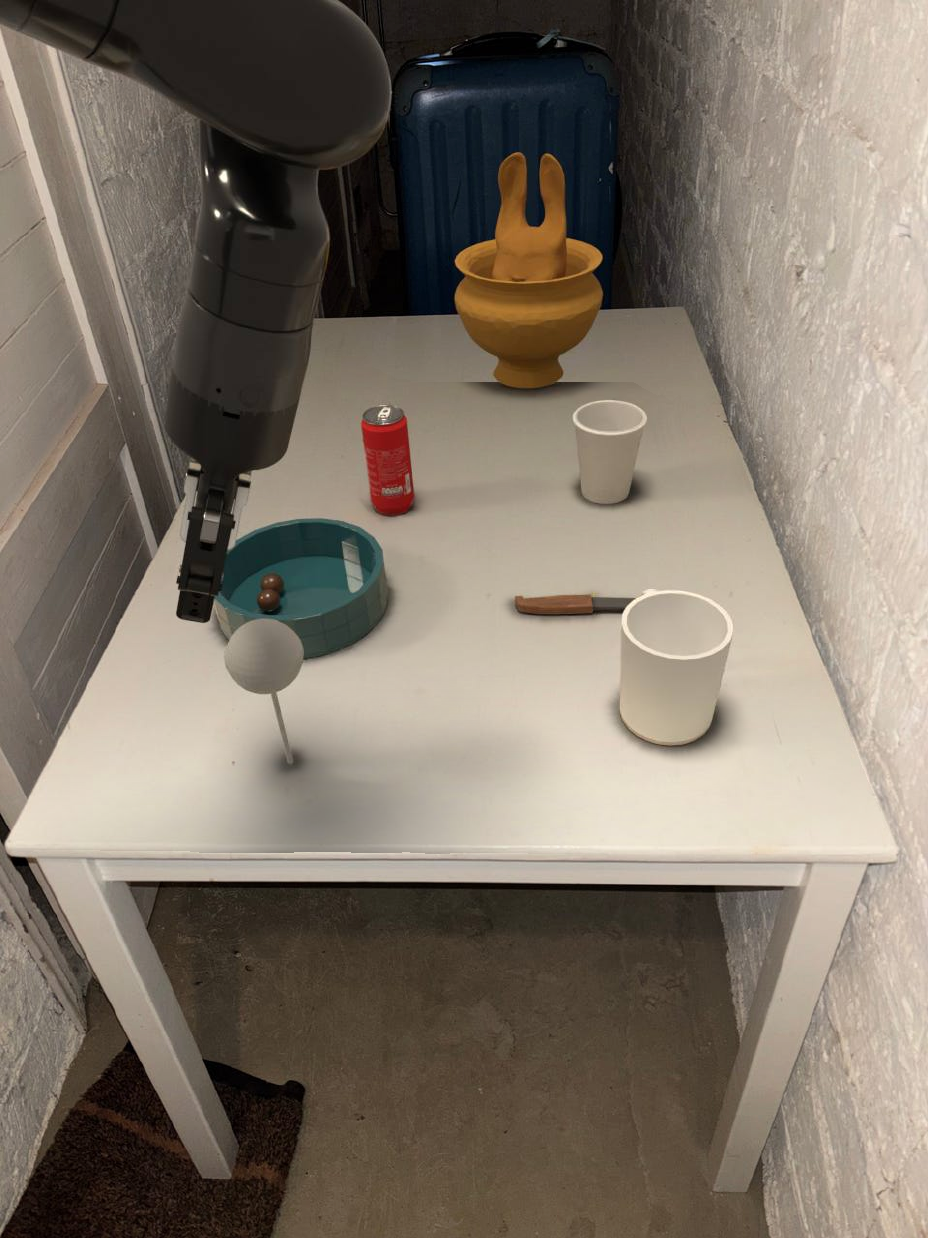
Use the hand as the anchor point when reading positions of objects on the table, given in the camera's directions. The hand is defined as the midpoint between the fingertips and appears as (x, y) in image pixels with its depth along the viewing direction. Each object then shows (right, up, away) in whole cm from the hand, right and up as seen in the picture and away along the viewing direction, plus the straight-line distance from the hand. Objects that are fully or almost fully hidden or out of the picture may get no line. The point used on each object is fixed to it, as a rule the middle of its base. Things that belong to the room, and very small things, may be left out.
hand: (200, 576), depth 64 cm
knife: (+32, -2, +29) cm, 43 cm away
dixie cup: (+36, +12, +46) cm, 60 cm away
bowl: (+2, -1, +32) cm, 32 cm away
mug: (+36, -11, +18) cm, 42 cm away
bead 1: (-2, +1, +32) cm, 32 cm away
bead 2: (-2, -1, +30) cm, 30 cm away
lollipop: (+4, -15, +15) cm, 21 cm away
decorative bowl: (+28, +34, +74) cm, 86 cm away
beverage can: (+10, +11, +46) cm, 48 cm away
